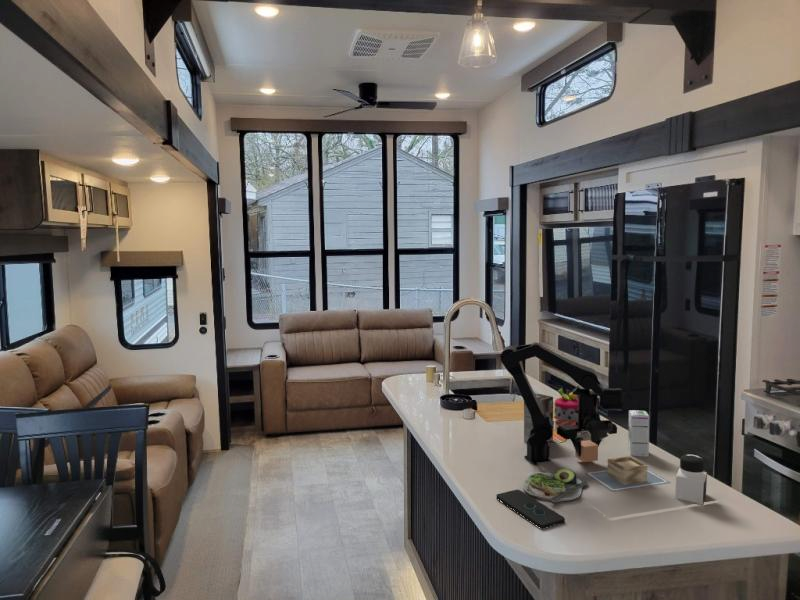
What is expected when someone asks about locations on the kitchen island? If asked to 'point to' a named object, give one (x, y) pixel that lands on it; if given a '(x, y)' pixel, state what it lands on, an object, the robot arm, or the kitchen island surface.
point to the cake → (566, 410)
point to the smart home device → (531, 508)
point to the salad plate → (555, 485)
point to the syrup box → (638, 433)
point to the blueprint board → (617, 486)
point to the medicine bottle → (691, 480)
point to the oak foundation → (627, 470)
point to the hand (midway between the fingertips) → (586, 455)
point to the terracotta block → (588, 451)
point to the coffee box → (545, 405)
